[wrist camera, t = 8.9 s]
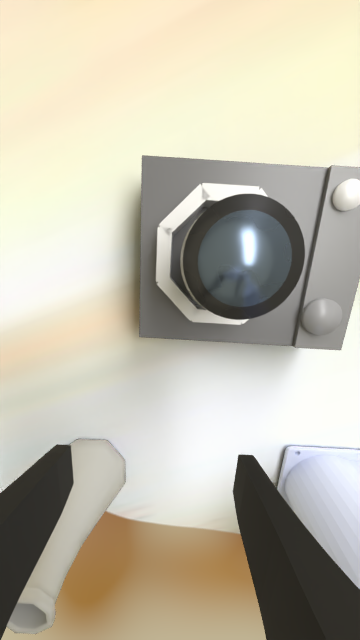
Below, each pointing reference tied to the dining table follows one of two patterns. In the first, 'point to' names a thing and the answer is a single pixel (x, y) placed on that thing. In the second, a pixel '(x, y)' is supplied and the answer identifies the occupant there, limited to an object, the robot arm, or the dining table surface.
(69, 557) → the flask
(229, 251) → the lens
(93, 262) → the dining table surface
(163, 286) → the camera body
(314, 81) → the dining table surface
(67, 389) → the dining table surface
